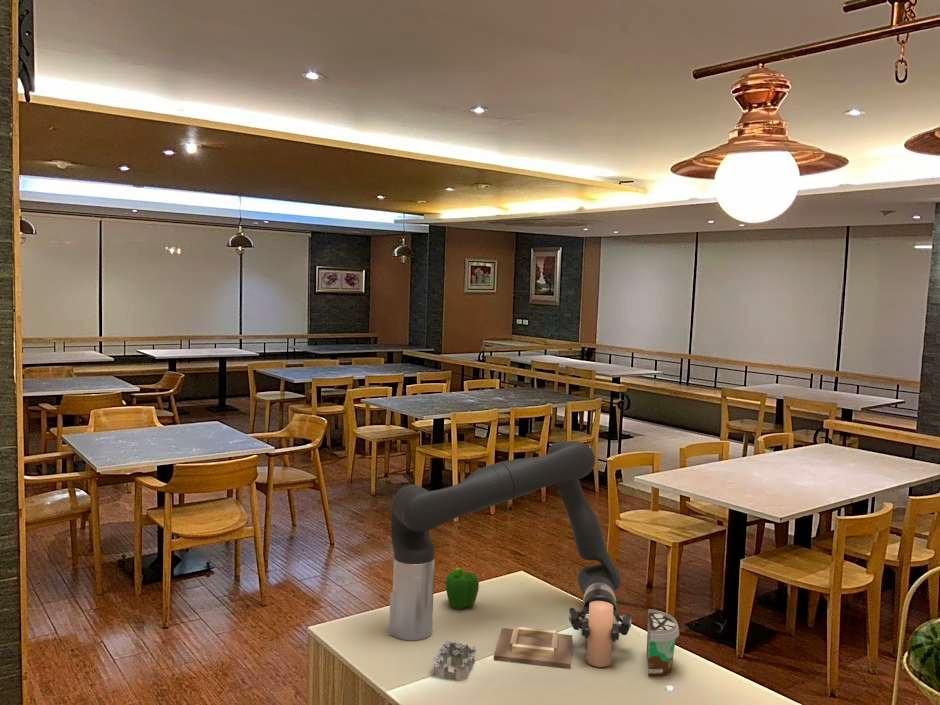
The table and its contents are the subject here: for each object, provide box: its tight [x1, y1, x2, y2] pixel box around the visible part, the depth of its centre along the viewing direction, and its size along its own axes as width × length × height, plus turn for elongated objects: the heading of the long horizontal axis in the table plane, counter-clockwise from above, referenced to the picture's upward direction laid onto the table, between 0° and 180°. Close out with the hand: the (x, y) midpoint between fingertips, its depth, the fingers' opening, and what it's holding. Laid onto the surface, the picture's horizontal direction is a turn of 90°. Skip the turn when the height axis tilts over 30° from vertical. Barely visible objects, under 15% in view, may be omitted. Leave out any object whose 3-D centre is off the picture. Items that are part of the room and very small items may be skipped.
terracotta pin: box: [586, 601, 613, 668], centre depth 153 cm, size 5×5×12 cm
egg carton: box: [432, 639, 477, 682], centre depth 150 cm, size 11×8×4 cm
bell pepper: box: [445, 566, 480, 610], centre depth 182 cm, size 8×8×10 cm
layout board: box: [493, 626, 573, 670], centre depth 159 cm, size 16×14×2 cm
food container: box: [646, 608, 680, 678], centre depth 152 cm, size 12×6×10 cm, turn 168°
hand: (600, 635), depth 151 cm, fingers closed on terracotta pin, 5 cm apart
